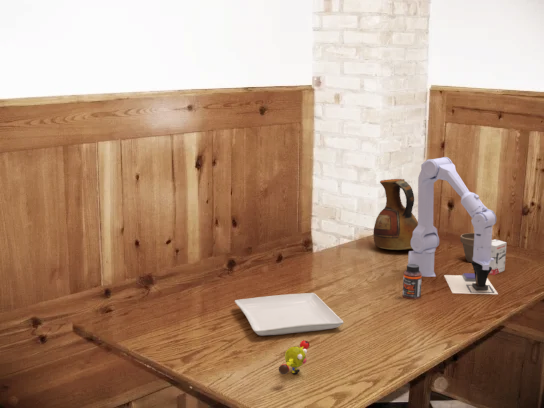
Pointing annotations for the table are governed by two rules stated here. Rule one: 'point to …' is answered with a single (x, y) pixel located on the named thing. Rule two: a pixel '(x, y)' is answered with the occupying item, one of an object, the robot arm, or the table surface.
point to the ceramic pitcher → (395, 217)
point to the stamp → (475, 286)
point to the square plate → (288, 314)
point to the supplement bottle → (412, 282)
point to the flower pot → (468, 245)
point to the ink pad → (469, 277)
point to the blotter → (466, 285)
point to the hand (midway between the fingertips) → (480, 284)
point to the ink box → (498, 256)
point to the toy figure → (295, 358)
